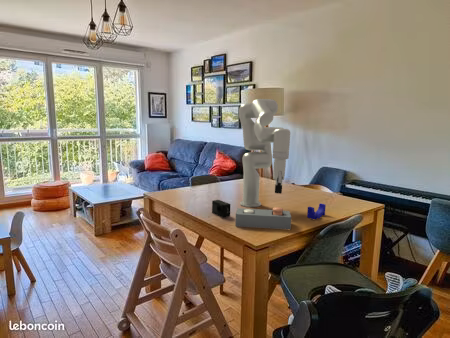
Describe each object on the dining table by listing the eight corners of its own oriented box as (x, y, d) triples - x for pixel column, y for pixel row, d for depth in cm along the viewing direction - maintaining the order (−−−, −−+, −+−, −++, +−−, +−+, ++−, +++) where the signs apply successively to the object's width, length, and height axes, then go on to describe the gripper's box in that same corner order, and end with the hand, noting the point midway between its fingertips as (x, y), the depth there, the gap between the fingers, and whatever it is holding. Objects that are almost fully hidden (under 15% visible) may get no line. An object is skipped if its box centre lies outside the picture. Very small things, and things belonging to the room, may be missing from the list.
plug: (243, 220, 152) (243, 209, 151) (253, 221, 151) (254, 209, 150) (243, 224, 147) (243, 212, 146) (253, 224, 146) (253, 212, 146)
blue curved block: (314, 220, 157) (315, 209, 156) (307, 217, 161) (307, 206, 160) (327, 215, 165) (328, 205, 164) (320, 213, 168) (320, 203, 167)
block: (236, 219, 155) (237, 208, 154) (288, 222, 152) (289, 210, 151) (235, 226, 145) (235, 214, 144) (290, 229, 142) (291, 217, 141)
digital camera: (210, 213, 164) (210, 200, 163) (217, 211, 168) (218, 199, 166) (222, 218, 156) (222, 205, 155) (230, 216, 160) (230, 203, 159)
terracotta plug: (271, 218, 150) (272, 206, 149) (282, 219, 150) (282, 207, 149) (272, 221, 145) (272, 209, 144) (282, 222, 145) (283, 210, 144)
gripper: (271, 152, 150) (269, 188, 153) (273, 157, 135) (270, 196, 139) (287, 153, 149) (284, 189, 153) (290, 157, 135) (287, 197, 138)
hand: (278, 192), depth 146 cm, fingers closed
